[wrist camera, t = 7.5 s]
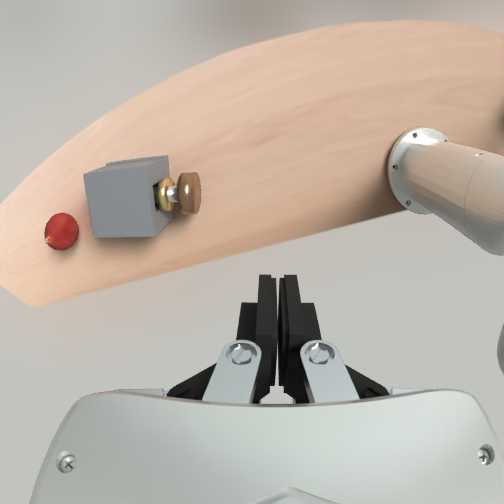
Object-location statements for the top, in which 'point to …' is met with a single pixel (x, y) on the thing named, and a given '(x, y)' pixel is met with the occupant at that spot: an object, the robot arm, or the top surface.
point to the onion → (61, 231)
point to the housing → (127, 198)
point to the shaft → (179, 193)
